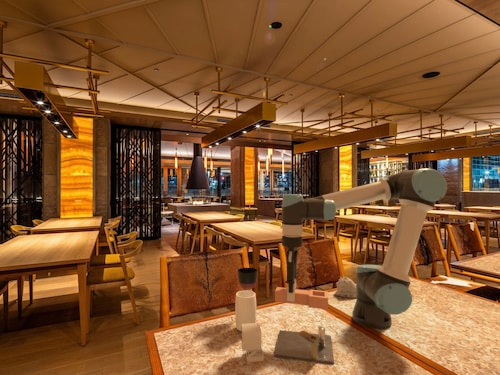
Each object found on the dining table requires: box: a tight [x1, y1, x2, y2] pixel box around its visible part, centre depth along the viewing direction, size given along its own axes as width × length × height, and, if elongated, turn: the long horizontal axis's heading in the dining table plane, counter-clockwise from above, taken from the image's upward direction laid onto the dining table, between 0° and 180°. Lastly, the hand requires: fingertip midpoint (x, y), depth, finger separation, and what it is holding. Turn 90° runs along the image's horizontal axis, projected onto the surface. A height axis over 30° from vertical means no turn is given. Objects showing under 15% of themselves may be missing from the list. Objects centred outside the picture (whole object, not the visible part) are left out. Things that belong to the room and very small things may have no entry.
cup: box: [234, 289, 257, 332], centre depth 111 cm, size 8×8×14 cm
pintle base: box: [273, 326, 335, 365], centre depth 97 cm, size 19×17×8 cm
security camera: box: [240, 322, 265, 363], centre depth 92 cm, size 6×7×10 cm
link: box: [274, 286, 329, 310], centre depth 103 cm, size 19×7×4 cm, turn 75°
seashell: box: [335, 275, 357, 299], centre depth 147 cm, size 12×14×10 cm
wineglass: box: [237, 267, 258, 291], centre depth 123 cm, size 8×9×20 cm
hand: (291, 298), depth 104 cm, fingers closed on link, 4 cm apart
